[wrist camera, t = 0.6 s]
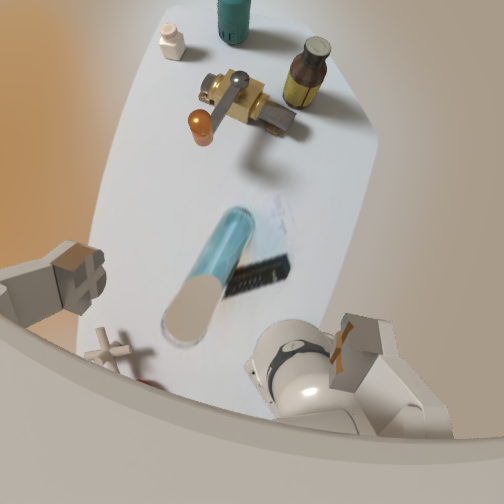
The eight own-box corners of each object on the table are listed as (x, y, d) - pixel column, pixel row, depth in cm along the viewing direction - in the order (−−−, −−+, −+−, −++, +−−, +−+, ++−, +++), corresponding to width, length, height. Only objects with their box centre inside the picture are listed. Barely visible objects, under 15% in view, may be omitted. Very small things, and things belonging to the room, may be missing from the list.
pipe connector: (130, 317, 59) (113, 331, 49) (145, 363, 59) (132, 384, 49) (88, 326, 58) (66, 339, 48) (103, 370, 59) (85, 389, 49)
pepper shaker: (179, 61, 57) (173, 37, 48) (162, 58, 57) (154, 34, 47) (186, 47, 57) (181, 22, 48) (170, 44, 57) (163, 20, 47)
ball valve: (294, 117, 59) (304, 98, 50) (281, 141, 59) (289, 125, 50) (212, 79, 58) (210, 55, 48) (197, 101, 58) (193, 80, 48)
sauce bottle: (309, 84, 59) (338, 32, 39) (313, 111, 59) (344, 63, 40) (279, 84, 59) (297, 28, 39) (281, 110, 59) (303, 60, 39)
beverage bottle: (249, 28, 58) (257, -32, 38) (246, 50, 58) (252, -10, 38) (220, 26, 57) (219, -35, 37) (215, 47, 57) (212, -13, 38)
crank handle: (235, 72, 48) (237, 43, 39) (252, 79, 49) (256, 51, 40) (191, 143, 48) (183, 123, 39) (208, 151, 49) (204, 133, 40)
